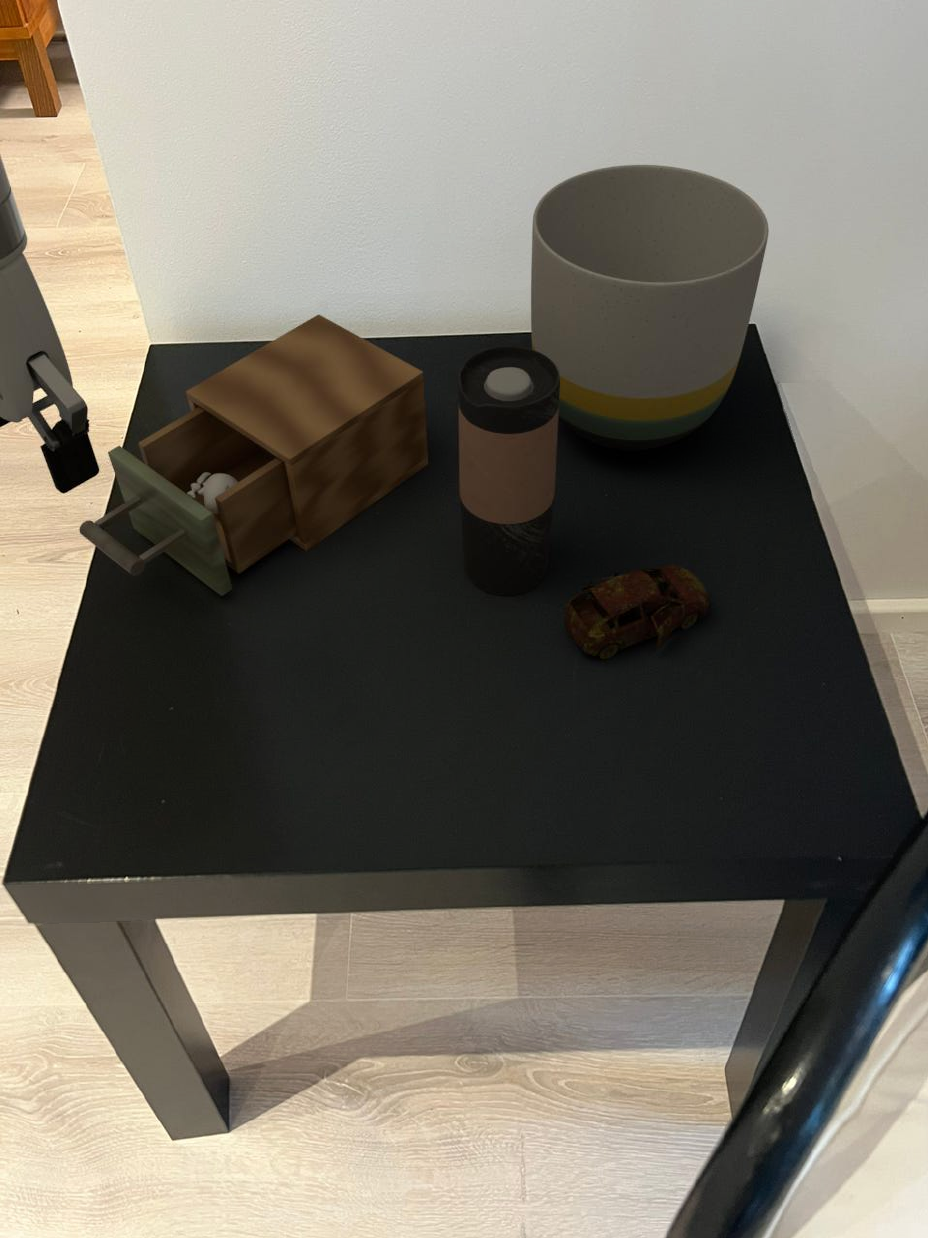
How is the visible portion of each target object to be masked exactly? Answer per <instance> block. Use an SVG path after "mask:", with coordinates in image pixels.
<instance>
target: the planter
mask: <svg viewBox="0 0 928 1238" xmlns="http://www.w3.org/2000/svg"><path fill="white" fill-rule="evenodd" d="M531 231H532V232H531V233H532V234H531V270H530V272H531V273H530V275H531V276H530V328H531V329H530V331H531V349H532V350H535V351H538V352H540V353H542V354H544V355H545V356H547V357H548V358H549V359H551V360H552V361H553V362H554V364H555V365H556V367H557V369H558V371H559V375H560V393H559V413H558V421H560V422H561V423H562V425H564V426H566V428H568V429H569V430H571V431H572V432H573V433H574V434H576V435H578V436H579V437H581V438H583V439H584V440H587V441H589V442H591V443H593V444H596V445H599V446H601V447H604V448H608V449H615V450H619V451H644V450H652V449H656V448H660V447H664V446H668V445H670V444H672V443H675V442H677V441H679V440H681V439H683V438H686V437H687V436H688V435H690V434H691V433H694V432H695V431H696V430H697V429H699V428H700V427H701V426H702V425H703V424H705V423H706V421H708V420H709V419H710V418H711V417H712V415H713V414H714V412H715V411H716V410H717V409H718V407H719V406H720V404H721V403H722V401H723V399H724V397H725V396H726V394H727V393H728V390H729V388H730V386H731V384H732V382H733V379H734V378H735V377H734V376H735V374H736V371H737V368H738V365H739V361H740V359H741V355H742V352H743V348H744V344H745V340H746V337H747V332H748V328H749V324H750V320H751V317H752V312H753V308H754V303H755V299H756V295H757V290H758V286H759V281H760V276H761V272H762V267H763V263H764V258H765V255H766V249H767V244H768V240H769V233H770V232H769V223H768V219H767V217H766V214H765V213H764V210H762V208H761V207H760V205H759V204H758V203H757V202H756V201H755V200H754V199H753V198H752V197H751V196H750V195H748V194H747V193H746V192H744V191H743V190H741V189H740V188H738V187H736V186H735V185H733V184H731V183H729V182H727V181H725V180H722V179H720V178H719V177H715V176H712V175H709V174H706V173H703V172H700V171H695V170H691V169H687V168H681V167H675V166H668V165H659V164H658V165H657V164H627V165H625V164H624V165H615V166H608V167H603V168H597V169H593V170H588V171H586V172H582V173H579V174H577V175H574V176H571V177H569V178H567V179H565V180H563V181H561V182H559V183H558V184H556V185H554V186H553V187H552V188H550V189H549V190H548V191H547V192H546V193H545V194H544V195H543V196H542V197H541V198H540V200H539V201H538V203H537V204H536V206H535V209H534V211H533V216H532V230H531Z"/></svg>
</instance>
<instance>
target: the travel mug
mask: <svg viewBox="0 0 928 1238" xmlns="http://www.w3.org/2000/svg"><path fill="white" fill-rule="evenodd" d="M457 380H458V381H457V393H458V394H457V395H458V397H457V399H458V400H457V401H458V463H459V464H458V467H459V468H458V470H459V472H458V473H459V476H458V477H459V479H458V480H459V502H460V503H459V504H460V518H461V531H462V532H461V534H462V547H463V560H464V561H463V562H464V569H465V572H466V575H467V578H468V579H469V581H470V582H471V584H473V585H474V586H475V587H476V588H478V589H480V590H481V591H484V592H486V593H488V594H492V595H495V596H502V597H505V596H506V597H507V596H508V597H509V596H517V595H521V594H525V593H527V592H529V591H531V590H533V589H535V588H536V587H537V586H538V585H539V584H541V582H542V581H543V579H544V577H545V575H546V572H547V568H548V561H549V551H550V543H551V541H550V540H551V534H552V533H551V531H552V523H553V513H554V506H555V505H554V504H555V492H556V476H557V475H556V473H557V455H558V453H557V452H558V433H559V419H558V413H559V393H560V375H559V371H558V369H557V367H556V365H555V364H554V362H553V361H552V360H551V359H549V358H548V357H547V356H545V355H544V354H542V353H540V352H538V351H535V350H532V348H528V347H524V346H515V345H504V346H494V347H490V348H486V349H483V350H481V351H478V352H476V353H475V354H472V355H471V356H470V357H468V359H466V360H465V361H464V362H463V364H462V365H461V367H460V369H459V372H458V378H457Z"/></svg>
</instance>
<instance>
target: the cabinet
mask: <svg viewBox="0 0 928 1238" xmlns="http://www.w3.org/2000/svg"><path fill="white" fill-rule="evenodd" d="M424 380H425V379H424V371H422V370H421V369H419V368H417V367H415V366H414V365H411V364H410V363H408V362H406V361H404V360H403V359H401V358H399V357H397V356H395V355H394V354H393V353H390V352H388V351H386V350H384V349H383V348H381V347H379V346H377V345H375V344H373V343H372V342H370V341H368V340H367V339H364V338H362V337H361V336H359V335H357V334H356V333H353V332H352V331H350V330H348V329H346V328H345V327H343V326H341V325H339V324H337V323H336V322H334V321H331V320H330V319H328V318H327V317H325V316H323V315H321V314H316V315H314V316H313V317H312V318H310V319H307V320H306V321H304V322H302V323H301V324H299V325H298V326H296V327H294V328H293V329H291V330H289V331H287V332H285V333H284V334H282V335H280V336H279V337H277V338H275V339H274V340H271V341H270V342H268V343H267V344H265V345H263V346H261V347H260V348H258V349H257V350H255V351H253V352H251V353H249V354H247V355H246V356H244V357H242V358H241V359H238V360H237V361H236V362H234V363H232V364H230V365H228V366H227V367H225V368H224V369H222V370H220V371H218V372H217V373H215V374H213V375H212V376H209V377H208V378H206V379H205V380H202V381H201V382H199V383H198V384H196V385H194V386H192V387H191V388H189V389H187V390H186V391H185V393H186V397H187V398H186V399H187V403H188V405H189V409H190V412H191V411H193V410H195V409H196V408H198V407H201V408H203V409H204V410H206V411H207V412H209V413H211V414H212V415H214V416H215V417H217V418H218V419H220V420H221V421H223V422H224V423H226V424H227V425H229V426H230V427H232V428H233V429H235V430H236V431H238V432H239V433H241V434H242V435H244V436H246V437H247V438H249V439H250V440H252V441H253V442H255V443H256V444H258V445H259V446H261V447H262V448H264V449H265V450H267V451H268V452H270V453H271V454H273V455H274V456H276V457H278V458H279V459H281V460H282V461H284V462H285V466H286V471H287V477H288V482H289V487H290V493H291V498H292V504H293V509H294V514H295V520H296V525H297V531H298V533H296V534H295V535H294V536H292V537H291V538H289V539H288V540H289V541H291V542H292V543H293V544H295V545H296V546H298V547H299V548H300V549H302V550H303V551H305V552H308V551H309V550H311V549H312V548H313V547H315V546H316V545H317V544H319V543H320V542H322V541H323V540H324V539H326V538H327V537H329V536H330V535H331V534H333V533H335V531H337V530H339V529H340V528H341V527H343V526H344V525H345V524H347V523H348V522H350V521H351V520H352V519H354V518H355V517H357V516H358V515H360V514H361V513H362V512H363V511H365V510H366V509H368V508H369V507H370V506H372V505H374V503H376V502H378V501H379V500H381V499H382V498H383V497H385V496H386V495H387V494H389V493H391V491H394V489H395V488H397V487H398V486H400V485H401V484H403V483H404V482H405V481H407V480H409V479H410V478H411V477H413V476H414V475H416V474H417V473H418V472H420V471H421V470H422V469H423V468H425V467H427V466H428V465H429V453H428V451H429V450H428V434H427V419H426V418H427V417H426V416H427V415H426V414H427V413H426V399H425V398H426V397H425V381H424Z"/></svg>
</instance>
